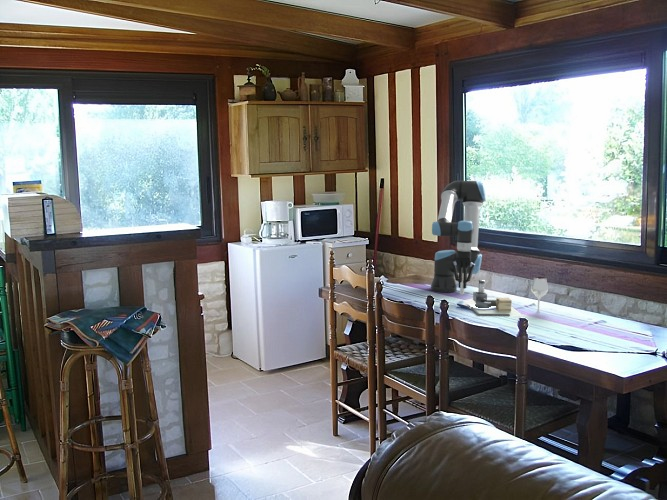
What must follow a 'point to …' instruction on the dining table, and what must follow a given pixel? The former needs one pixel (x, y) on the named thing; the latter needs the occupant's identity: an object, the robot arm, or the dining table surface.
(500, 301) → the crate
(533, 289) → the wineglass
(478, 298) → the crank wheel
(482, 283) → the crank pin
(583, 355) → the dining table surface
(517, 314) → the deck
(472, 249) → the robot arm
